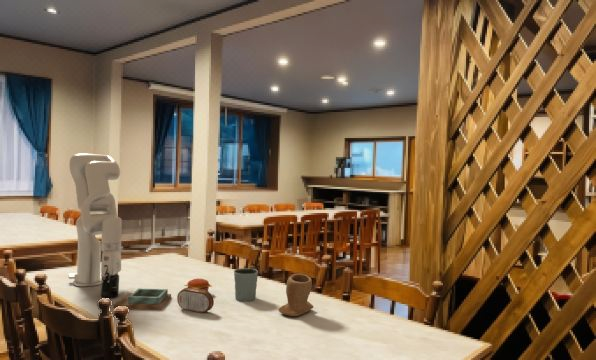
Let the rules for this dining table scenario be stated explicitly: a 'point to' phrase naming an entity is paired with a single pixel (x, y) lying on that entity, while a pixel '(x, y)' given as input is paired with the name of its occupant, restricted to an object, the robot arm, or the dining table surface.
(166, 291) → the socket board
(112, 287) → the supplement bottle
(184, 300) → the tin
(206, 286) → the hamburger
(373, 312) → the dining table surface
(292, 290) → the stone cup
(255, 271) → the grey cup
